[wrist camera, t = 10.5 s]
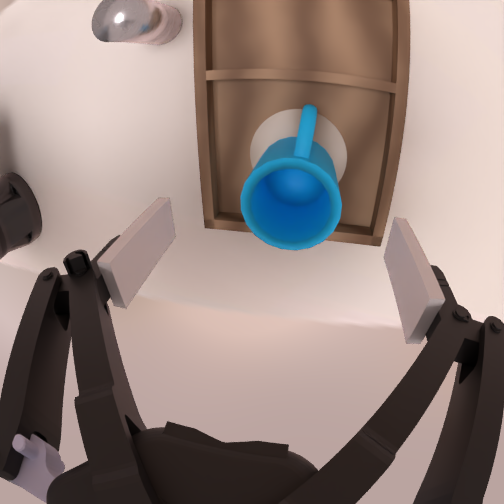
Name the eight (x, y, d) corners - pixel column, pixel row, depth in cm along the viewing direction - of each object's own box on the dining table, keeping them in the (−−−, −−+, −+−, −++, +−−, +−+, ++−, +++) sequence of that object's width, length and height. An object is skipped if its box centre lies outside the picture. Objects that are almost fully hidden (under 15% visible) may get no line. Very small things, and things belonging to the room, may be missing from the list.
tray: (212, 216, 36) (204, 228, 33) (204, -13, 20) (193, -20, 17) (376, 232, 32) (380, 246, 30) (400, -4, 16) (408, -11, 14)
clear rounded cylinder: (142, 48, 24) (91, 48, 17) (142, 11, 22) (92, 2, 14) (182, 40, 24) (137, 33, 16) (182, 2, 21) (137, -16, 14)
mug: (325, 216, 31) (326, 259, 25) (253, 200, 32) (235, 238, 25) (352, 111, 24) (366, 123, 18) (269, 93, 25) (253, 98, 18)
